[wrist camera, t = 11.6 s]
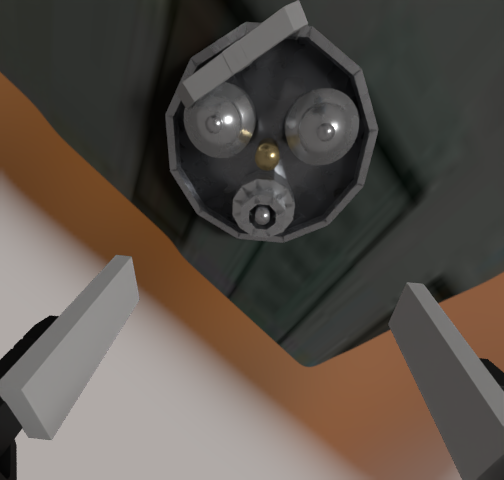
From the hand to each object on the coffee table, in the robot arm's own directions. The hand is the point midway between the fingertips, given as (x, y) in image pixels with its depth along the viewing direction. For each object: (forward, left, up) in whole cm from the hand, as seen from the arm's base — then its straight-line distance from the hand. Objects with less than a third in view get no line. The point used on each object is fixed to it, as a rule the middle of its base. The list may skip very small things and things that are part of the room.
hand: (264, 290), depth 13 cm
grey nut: (+3, 0, -21) cm, 22 cm away
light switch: (-11, -4, -23) cm, 26 cm away
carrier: (-3, 0, -23) cm, 23 cm away
